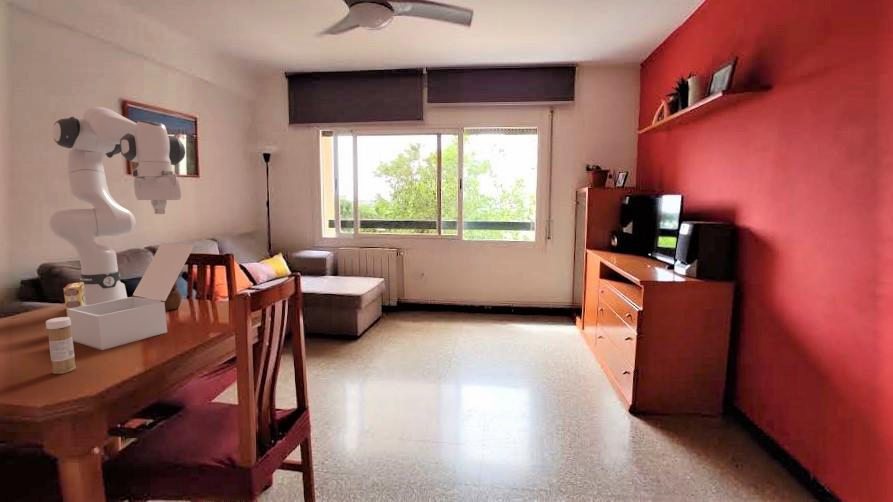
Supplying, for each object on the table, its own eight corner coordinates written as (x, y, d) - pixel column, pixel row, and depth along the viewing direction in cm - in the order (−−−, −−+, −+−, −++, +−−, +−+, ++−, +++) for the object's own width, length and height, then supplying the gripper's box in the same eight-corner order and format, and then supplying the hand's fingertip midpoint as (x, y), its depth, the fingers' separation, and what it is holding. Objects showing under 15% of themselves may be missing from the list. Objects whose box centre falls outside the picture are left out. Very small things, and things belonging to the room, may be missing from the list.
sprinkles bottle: (63, 367, 111) (57, 316, 110) (81, 367, 111) (75, 316, 109) (47, 374, 107) (40, 321, 105) (65, 374, 107) (58, 321, 105)
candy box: (86, 333, 140) (80, 286, 138) (68, 335, 137) (62, 288, 135) (89, 326, 147) (84, 281, 145) (73, 328, 145) (67, 283, 143)
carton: (71, 340, 132) (67, 309, 131) (136, 325, 148) (133, 296, 147) (101, 350, 124) (98, 316, 122) (167, 332, 139) (164, 302, 138)
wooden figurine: (158, 310, 166) (154, 272, 165) (169, 306, 172) (166, 269, 170) (173, 311, 165) (170, 272, 163) (185, 307, 171) (181, 269, 169)
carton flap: (161, 242, 154) (163, 243, 154) (132, 295, 146) (134, 295, 147) (192, 244, 145) (194, 245, 146) (163, 300, 138) (165, 301, 138)
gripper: (184, 171, 140) (188, 214, 142) (148, 172, 150) (152, 213, 152) (164, 170, 135) (168, 215, 136) (128, 172, 144) (132, 214, 146)
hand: (159, 214), depth 144 cm, fingers closed
